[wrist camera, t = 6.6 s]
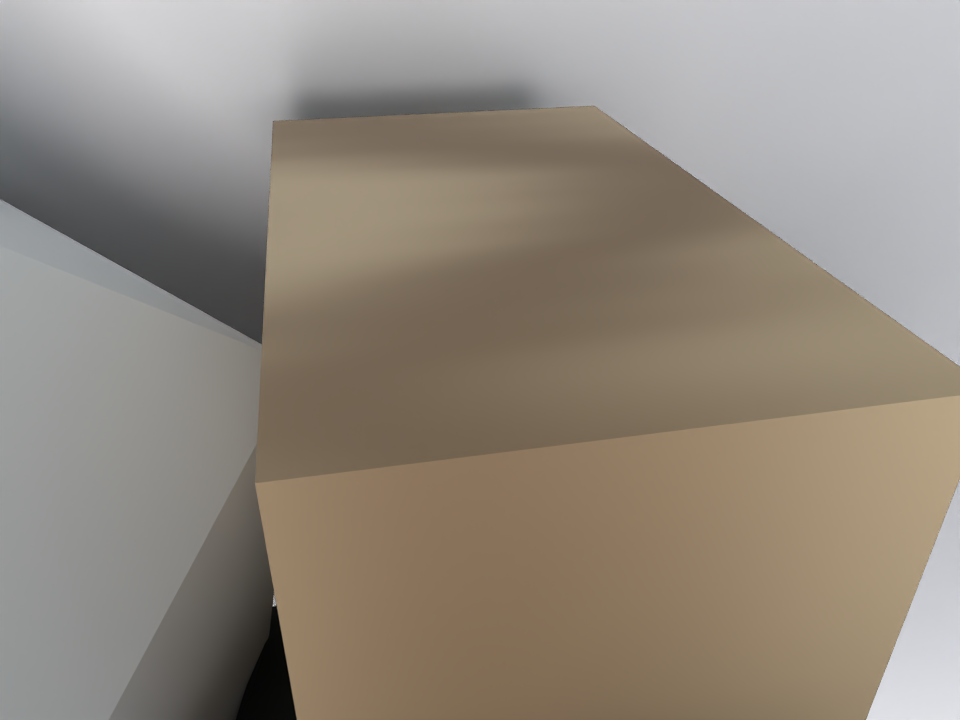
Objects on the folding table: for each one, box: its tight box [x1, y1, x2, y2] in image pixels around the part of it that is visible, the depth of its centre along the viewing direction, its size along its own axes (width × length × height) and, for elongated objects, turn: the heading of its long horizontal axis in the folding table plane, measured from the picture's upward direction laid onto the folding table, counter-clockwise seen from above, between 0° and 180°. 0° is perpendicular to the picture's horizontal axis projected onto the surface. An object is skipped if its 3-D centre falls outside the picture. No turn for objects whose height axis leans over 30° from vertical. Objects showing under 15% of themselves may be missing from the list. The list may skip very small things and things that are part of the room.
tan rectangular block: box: [255, 106, 960, 720], centre depth 9 cm, size 4×12×6 cm, turn 0°
